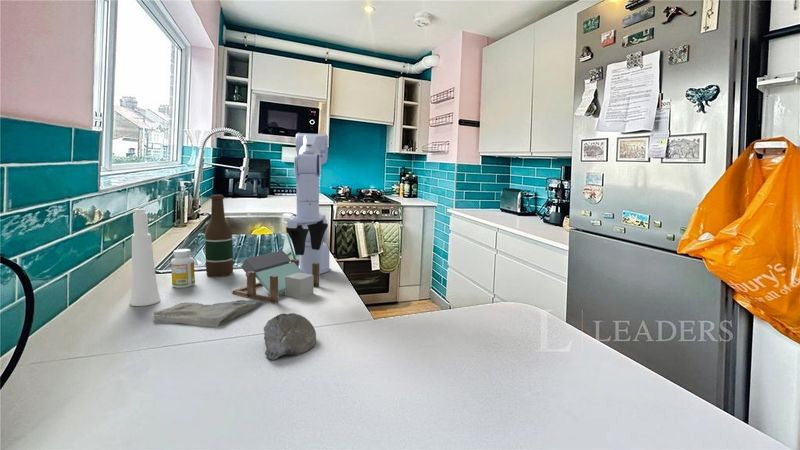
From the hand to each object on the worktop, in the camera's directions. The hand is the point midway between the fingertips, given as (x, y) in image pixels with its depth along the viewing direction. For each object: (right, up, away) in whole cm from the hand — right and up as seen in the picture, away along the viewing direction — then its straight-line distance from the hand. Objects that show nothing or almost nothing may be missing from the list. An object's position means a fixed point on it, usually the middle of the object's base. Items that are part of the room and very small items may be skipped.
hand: (308, 252), depth 101 cm
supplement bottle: (-34, -9, +2) cm, 36 cm away
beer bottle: (-30, -8, +15) cm, 35 cm away
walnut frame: (-8, -10, +1) cm, 13 cm away
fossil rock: (-18, -13, -16) cm, 28 cm away
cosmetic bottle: (-35, -11, -12) cm, 39 cm away
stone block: (-4, -8, -2) cm, 9 cm away
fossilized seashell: (+4, -15, -31) cm, 35 cm away
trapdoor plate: (-10, -7, +1) cm, 12 cm away
